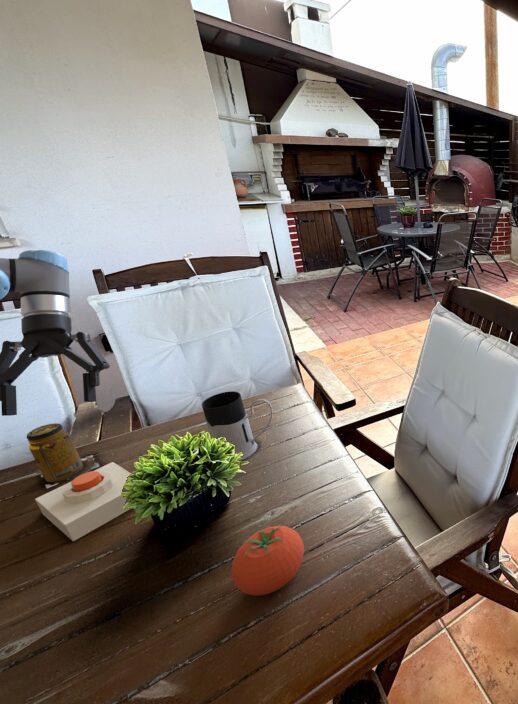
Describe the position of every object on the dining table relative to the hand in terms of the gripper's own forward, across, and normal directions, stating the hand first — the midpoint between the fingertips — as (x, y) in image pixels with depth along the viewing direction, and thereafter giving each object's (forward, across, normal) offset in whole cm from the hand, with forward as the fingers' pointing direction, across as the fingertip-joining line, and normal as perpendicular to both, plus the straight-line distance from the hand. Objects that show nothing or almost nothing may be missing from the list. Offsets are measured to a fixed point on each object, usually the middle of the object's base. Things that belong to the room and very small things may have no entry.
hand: (51, 408), depth 89 cm
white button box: (+23, -12, +9) cm, 27 cm away
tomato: (+40, -47, +35) cm, 71 cm away
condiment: (+15, 0, -5) cm, 16 cm away
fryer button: (+18, -12, +11) cm, 24 cm away
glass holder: (+19, -37, +1) cm, 42 cm away
